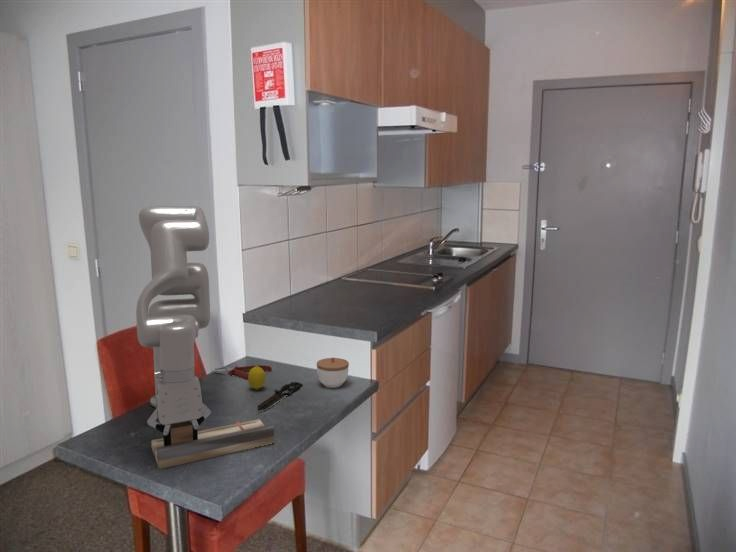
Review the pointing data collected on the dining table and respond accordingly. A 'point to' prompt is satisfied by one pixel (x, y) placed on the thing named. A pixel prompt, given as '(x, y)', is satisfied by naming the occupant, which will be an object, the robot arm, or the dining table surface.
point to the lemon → (256, 377)
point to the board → (213, 452)
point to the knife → (277, 395)
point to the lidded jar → (332, 371)
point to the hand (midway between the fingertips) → (181, 444)
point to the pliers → (240, 370)
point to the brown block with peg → (181, 432)
